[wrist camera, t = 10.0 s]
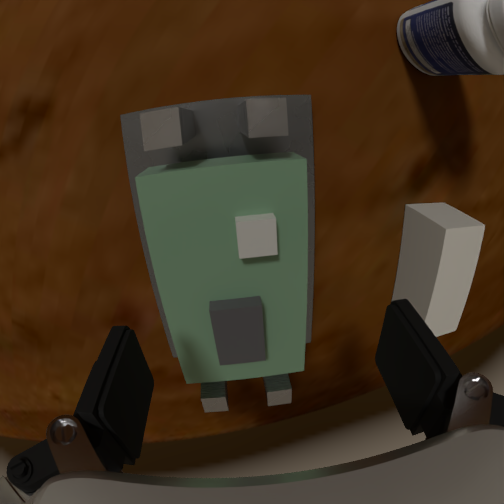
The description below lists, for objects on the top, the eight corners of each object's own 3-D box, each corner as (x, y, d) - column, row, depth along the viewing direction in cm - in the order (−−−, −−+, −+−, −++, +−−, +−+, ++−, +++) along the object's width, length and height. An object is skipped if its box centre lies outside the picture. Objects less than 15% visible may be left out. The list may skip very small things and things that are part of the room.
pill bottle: (435, 90, 17) (540, 99, 8) (382, 41, 15) (484, 13, 6) (458, 45, 15) (553, 40, 6) (410, -3, 13) (502, -35, 5)
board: (292, 151, 14) (312, 161, 11) (295, 343, 19) (306, 380, 16) (148, 167, 14) (129, 181, 11) (188, 355, 19) (185, 393, 16)
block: (444, 202, 20) (485, 225, 16) (426, 297, 24) (455, 330, 20) (405, 204, 20) (446, 229, 16) (390, 305, 24) (418, 342, 20)
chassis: (306, 95, 17) (352, 87, 10) (307, 334, 24) (331, 399, 18) (125, 115, 16) (75, 116, 10) (174, 348, 24) (165, 417, 17)
